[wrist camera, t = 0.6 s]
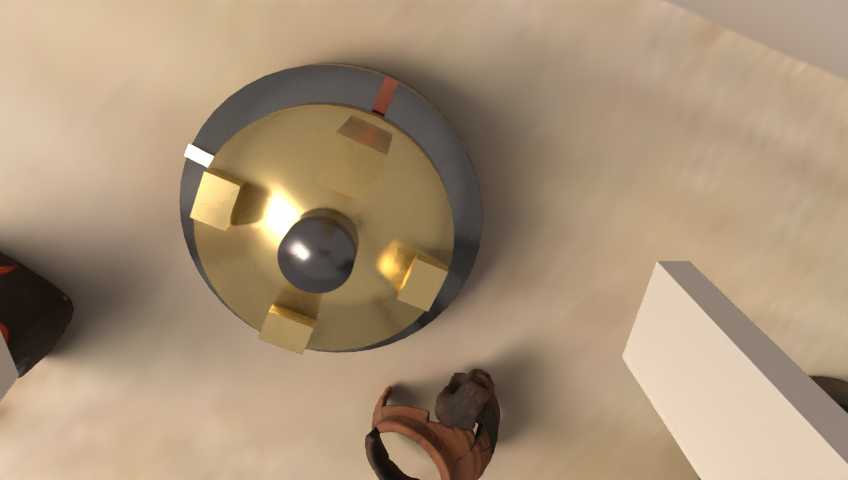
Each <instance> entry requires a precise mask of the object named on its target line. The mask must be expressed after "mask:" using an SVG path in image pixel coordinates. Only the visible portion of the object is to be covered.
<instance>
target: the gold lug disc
mask: <svg viewBox="0 0 848 480" xmlns="http://www.w3.org/2000/svg"><path fill="white" fill-rule="evenodd" d="M315 208H329V209H333V210H336V211H338V212H340V213H342V214H343V215H345V216H346V217H347V218H348V219H349V220H350V221H351V222H352V223H353V225H354V226H355V228H356V230H357V233H358V237H359V248H358V252H357V256H356V259H355V263H354V266H353V270H352V273H351V275H350V277H349V278H348V280H347V281H346V282H345V283H344V284H343V285H342V286H340V287H339V288H337V289H336V290H333V291H331V292H327V293H319V294H317V293H309V292H305V291H302V290H300V289H298V288H296V287H295V286H293V285H292V284H291V283H290V282H289V281H288V280H287V279H286V278H285V277H284V276H283V274H282V272H281V270H280V268H279V264H278V259H277V253H278V248H279V245H280V242H281V240H282V239H283V237H284V236H285V234H286V233H287V232H288V230H289V229H290V227H291V226H292V224H293V223H294V221H295V220H296V219H297V218H298V217H299V216H300V215H301V214H303V213H304V212H306V211H308V210H311V209H315ZM190 217H191V218H193V219H194V236H195V241H196V246H197V251H198V254H199V257H200V260H201V263H202V266H203V268H204V270H205V273H206V275H207V277H208V279H209V281H210V282H211V284H212V285H213V287H214V288H215V290H216V291H217V293H218V294H219V296H220V297H221V298H222V299H223V300H224V302H225V303H226V304H227V305H228V306H229V307H230V308H231V309H232V310H233V311H234V312H235V313H236V314H237V315H238V316H239V317H240V318H241V319H243V320H244V321H246V322H247V323H248V324H250V325H251V326H252V327H254V328H255V329H257V330H259V331H261V332H260V335H259V337H258V339H260V340H263V341H266V342H268V343H271V344H274V345H277V346H279V347H282V348H285V349H288V350H290V351H293V352H296V353H298V354H301V355H302V354H303V352H304V349H305V348H307V349H313V350H325V351H337V350H349V349H356V348H361V347H365V346H369V345H372V344H375V343H378V342H380V341H383V340H385V339H388V338H390V337H392V336H393V335H395V334H397V333H399V332H401V331H402V330H404V329H405V328H406V327H408V326H409V325H410V324H412V323H413V322H414V321H415V320H416V319H417V318H419V317H420V316H421V315H422V314H423V313H424V312H425V311H429V309H430V307H431V305H432V303H433V302H434V300H435V298H436V296H437V294H438V293H439V291H440V289H441V288H442V286H443V283H444V281H445V279H446V276H447V274H448V271H449V267H450V264H451V260H452V254H453V247H454V224H453V218H452V211H451V207H450V202H449V198H448V194H447V191H446V188H445V184H444V182H443V180H442V177H441V175H440V173H439V171H438V169H437V167H436V165H435V164H434V162H433V161H432V159H431V157H430V156H429V154H428V153H427V152H426V151H425V150H424V148H423V147H422V146H421V145H420V143H419V142H418V141H417V140H415V139H414V138H413V137H412V136H411V135H410V134H409V133H408V132H407V131H406V130H404V129H403V128H401V127H400V126H399V125H397V124H396V123H394V122H393V121H391V120H389V119H387V118H386V117H384V116H382V115H380V114H378V113H375V112H373V111H370V110H368V109H365V108H362V107H358V106H354V105H350V104H345V103H336V102H310V103H304V104H299V105H294V106H290V107H287V108H284V109H281V110H278V111H276V112H274V113H272V114H270V115H267V116H265V117H263V118H261V119H259V120H257V121H255V122H253V123H251V124H249V125H248V126H246V127H245V128H244V129H242V130H241V131H239V132H238V133H236V134H235V135H234V136H233V137H232V138H231V139H230V140H229V141H228V142H226V143H225V144H224V145H223V146H222V148H221V149H220V150H219V151H218V153H217V154H216V155H215V156H214V158H213V159H212V161H211V163H210V164H209V166H208V168H207V169H206V171H204V174H203V177H202V180H201V183H200V186H199V188H198V193H197V196H196V199H195V202H194V205H193V209H192V212H191V215H190Z"/></svg>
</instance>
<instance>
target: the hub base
mask: <svg viewBox="0 0 848 480" xmlns="http://www.w3.org/2000/svg"><path fill="white" fill-rule="evenodd" d="M310 102H336V103H345V104H350V105H354V106H358V107H362V108H365V109H368V110H370V111H373V112H375V113H378V114H380V115H382V116H384V117H386V118H387V119H389V120H391V121H393V122H394V123H396V124H397V125H399V126H400V127H401V128H403V129H404V130H406V131H407V132H408V133H409V134H410V135H411V136H412V137H413V138H414V139H415V140H417V141H418V142H419V143H420V145H421V146H422V147H423V148H424V150H425V151H426V152H427V153H428V154H429V156H430V157H431V159H432V161H433V162H434V164H435V165H436V167H437V169H438V171H439V173H440V175H441V177H442V180H443V182H444V184H445V188H446V191H447V194H448V198H449V202H450V207H451V211H452V218H453V224H454V247H453V254H452V260H451V264H450V267H449V271H448V274H447V276H446V279H445V281H444V283H443V286H442V288H441V289H440V291H439V293H438V294H437V296H436V298H435V300H434V302H433V303H432V305H431V307H430V309H429V311H425V312H424V313H423V314H422V315H421V316H420V317H419V318H417V319H416V320H415V321H414V322H413V323H412V324H410V325H409V326H408V327H406V328H405V329H404V330H402V331H401V332H399V333H397V334H395V335H393V336H392V337H390V338H388V339H385V340H383V341H380V342H378V343H375V344H372V345H369V346H365V347H361V348H356V349H349V350H337V351H325V350H315V351H323V352H356V351H363V350H370V349H374V348H378V347H381V346H385V345H389V344H391V343H394V342H396V341H399V340H401V339H404V338H406V337H408V336H409V335H411V334H413V333H415V332H417V331H418V330H420V329H422V328H423V327H424V326H426V325H427V324H428V323H430V322H431V321H433V320H434V319H435V318H436V317H437V316H438V315H439V314H440V313H441V312H442V311H443V310H445V309H446V308H447V307H448V305H449V304H450V303H451V302H452V300H453V299H454V298H455V297H456V296H457V294H458V293H459V291H460V290H461V288H462V286H463V285H464V283H465V281H466V280H467V278H468V276H469V274H470V271H471V269H472V267H473V265H474V262H475V259H476V255H477V252H478V248H479V245H480V238H481V231H482V203H481V195H480V189H479V185H478V181H477V178H476V174H475V170H474V168H473V166H472V163H471V161H470V159H469V156H468V154H467V152H466V150H465V148H464V146H463V144H462V142H461V140H460V139H459V137H458V135H457V134H456V132H455V130H454V128H453V127H452V126H451V124H450V123H449V122H448V121H447V119H446V118H445V117H444V116H443V114H442V113H441V112H440V111H439V110H438V109H437V108H436V107H435V106H434V105H433V104H432V103H431V102H430V101H429V100H428V99H426V98H425V97H424V96H422V95H421V94H420V93H418V92H417V91H416V90H414V89H413V88H412V87H410V86H408V85H406V84H405V83H403V82H401V81H399V80H397V79H395V78H394V77H391V76H389V75H386V74H383V73H381V72H378V71H376V70H372V69H368V68H364V67H360V66H355V65H346V64H336V63H334V64H313V65H308V66H302V67H296V68H291V69H285V70H282V71H279V72H276V73H273V74H270V75H267V76H264V77H262V78H260V79H258V80H256V81H254V82H252V83H250V84H248V85H246V86H244V87H243V88H242V89H240V90H239V91H237V92H236V93H234V94H233V95H231V96H230V97H229V98H228V99H227V100H226V101H224V102H223V103H222V104H221V105H220V106H219V107H218V108H217V109H216V110H215V111H214V112H213V113H212V115H211V116H210V117H209V118H208V120H207V121H206V122H205V124H204V125H203V126H202V128H201V129H200V131H199V133H198V135H197V136H196V138H195V140H194V142H193V144H191V143H190V144H189V145H188V148H187V150H186V152H185V155H184V156H186V157H187V159H186V162H185V165H184V170H183V174H182V179H181V188H180V214H181V222H182V227H183V232H184V237H185V240H186V243H187V246H188V249H189V252H190V255H191V257H192V259H193V261H194V263H195V265H196V267H197V269H198V271H199V273H200V274H201V276H202V277H203V279H204V280H205V282H206V283H207V285H208V286H209V288H210V289H211V290H212V291H213V293H214V294H215V295H216V296H217V297H218V298H219V300H220V301H221V302H222V303H223V304H224V305H225V306H226V307H227V308H228V309H230V310H231V311H232V312H233V313H234V314H235V315H236V316H237V317H239V316H238V315H237V314H236V313H235V312H234V311H233V310H232V309H231V308H230V307H229V306H228V305H227V304H226V303H225V302H224V300H223V299H222V298H221V297H220V296H219V294H218V293H217V291H216V290H215V288H214V287H213V285H212V284H211V282H210V281H209V279H208V277H207V275H206V273H205V270H204V268H203V266H202V263H201V260H200V257H199V254H198V251H197V246H196V241H195V236H194V219H193V218H191V217H190V215H191V212H192V209H193V205H194V202H195V199H196V196H197V193H198V188H199V186H200V183H201V180H202V177H203V174H204V171H206V169H207V168H208V166H209V164H210V163H211V161H212V159H213V158H214V156H215V155H216V154H217V153H218V151H219V150H220V149H221V148H222V146H223V145H224V144H225V143H226V142H228V141H229V140H230V139H231V138H232V137H233V136H234V135H235V134H236V133H238V132H239V131H241V130H242V129H244V128H245V127H246V126H248V125H249V124H251V123H253V122H255V121H257V120H259V119H261V118H263V117H265V116H267V115H270V114H272V113H274V112H276V111H278V110H281V109H284V108H287V107H290V106H294V105H299V104H304V103H310ZM358 248H359V237H358V233H357V230H356V228H355V226H354V225H353V223H352V222H351V221H350V220H349V219H348V218H347V217H346V216H345V215H343V214H342V213H340V212H338V211H336V210H333V209H329V208H315V209H311V210H308V211H306V212H304V213H303V214H301V215H300V216H299V217H298V218H297V219H296V220H295V221H294V223H293V224H292V226H291V227H290V229H289V230H288V232H287V233H286V234H285V236H284V237H283V239H282V240H281V242H280V245H279V248H278V253H277V259H278V264H279V268H280V270H281V272H282V274H283V276H284V277H285V278H286V279H287V280H288V281H289V282H290V283H291V284H292V285H293V286H295V287H296V288H298V289H300V290H302V291H305V292H309V293H317V294H319V293H327V292H331V291H333V290H336V289H337V288H339V287H340V286H342V285H343V284H344V283H345V282H346V281H347V280H348V278H349V277H350V275H351V273H352V270H353V266H354V263H355V259H356V256H357V252H358ZM239 318H240V317H239ZM240 319H241V318H240ZM242 320H243V319H242ZM243 321H244V320H243ZM244 322H246V321H244ZM246 323H247V322H246ZM247 324H248V323H247ZM248 325H250V324H248ZM250 326H251V325H250ZM251 327H252V326H251ZM253 328H254V327H253ZM258 331H259V330H258ZM260 332H261V331H260ZM305 349H307V348H305ZM310 350H313V349H310Z"/></svg>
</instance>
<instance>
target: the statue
mask: <svg viewBox="0 0 848 480" xmlns="http://www.w3.org/2000/svg"><path fill="white" fill-rule="evenodd" d="M72 313H73V306H72V302H71V301H70V300H69V299H68V298H67V297H66V296H65V295H64V294H63V293H62V292H61V291H60V290H58V289H57V288H56V287H54V286H53V285H52V284H50V283H49V282H48V281H47V280H45V279H43V278H42V277H40V276H38V275H37V274H35V273H34V272H32V271H30V270H28V269H27V268H25V267H24V266H22V265H21V264H20V263H18V262H16V261H14V260H12V259H10V258H8V257H6V256H4V255H2V254H1V253H0V331H1V333H2V335H3V338H4V340H5V343H6V345H7V347H8V350H9V352H10V355H11V357H12V359H13V362H14V364H15V367H16V369H17V371H18V374H19V376H18V378H20V377H22V376H23V375H25V374H26V373H27V372H28V371H29V370H30V369H32V368H33V367H34V366H35V365H36V364H37V363H38V362H39V361H40V360H42V359H43V358H44V357H45V356H46V355H47V354H48V352H49V351H51V349H52V347H53V346H54V344H56V341H57V340H58V338H59V337H60V336H61V335H62V333H63V332H64V331H65V328H66V326H67V324H69V322H70V320H71V318H72ZM70 349H71V348H70Z"/></svg>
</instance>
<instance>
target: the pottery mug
mask: <svg viewBox="0 0 848 480" xmlns="http://www.w3.org/2000/svg"><path fill="white" fill-rule="evenodd" d="M494 386H495V385H494V382H493V380H492V379H491V376H490V374H488V373H486V372H484V371H483V370H481V369H474V370H472V371H471V372H469V373H467V374H465V373H454V376H452V378H451V381H450V383H449V385H448V386H446V387H445V388H444V389H443V391H442V393H440V394H439V395H438V397H437V400H436V406H435V415H436V417H437V419H438V420H439V421H440V422H438V423H435V422H432V421H429V411H427V410H424V409H418V408H413V407H409V406H397V405H388V406H386V404H387V400H388V398H389V396H390V394H391V393H392V387H391V386H389V387H387V389H386V390H385V391H384V393H383V394H382V396H381V397H380V399H379V401H378V403H377V405H376V407H375V411H374V413H373V422H372V431H371V432H370V433H369V434H368V435H367V436H366V438H365V448H366V455H367V458H368V461H369V463H370V465H371V467H372V469H373V470H374V471H375V474H376V475H377V477H378V478H379V480H420V479H417V478H411V477H409V476H407V475H406V474H404V473H403V472H402V471H401V470H400V469H399V468H398V466H397V465H396V464H395V463H394V462H393V461H391V460H390V459H389V455H388V453H387V451H386V449H385V447H384V445H383V443H382V441H381V438H380V433H384V432H396V433H399V434H402V435H405V436H407V437H409V438H410V439H412V440H414V441H416V442H417V443H419V444H420V445H421V446H422V447H423V448H424V449H425V450H426V451H427V453H428V454H429V455H430V457H431V458H432V459H433V461H434V462H435V464H436V466H437V468H438V470H439V473H440V476H441V480H477V479H479V478H480V477H481V476H482V474H483V472H484V470H485V468H486V467H487V465H488V464H489V462H490V460H491V458H492V455H493V453H494V450H495V446H496V442H497V437H498V426H499V422H500V408H499V404H498V401H497V398H496V396H495V395H494V393H493V391H494ZM475 422H476V423H478V427H477V431H476V435H475V433H474V431H473V428H474V427H475Z"/></svg>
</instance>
